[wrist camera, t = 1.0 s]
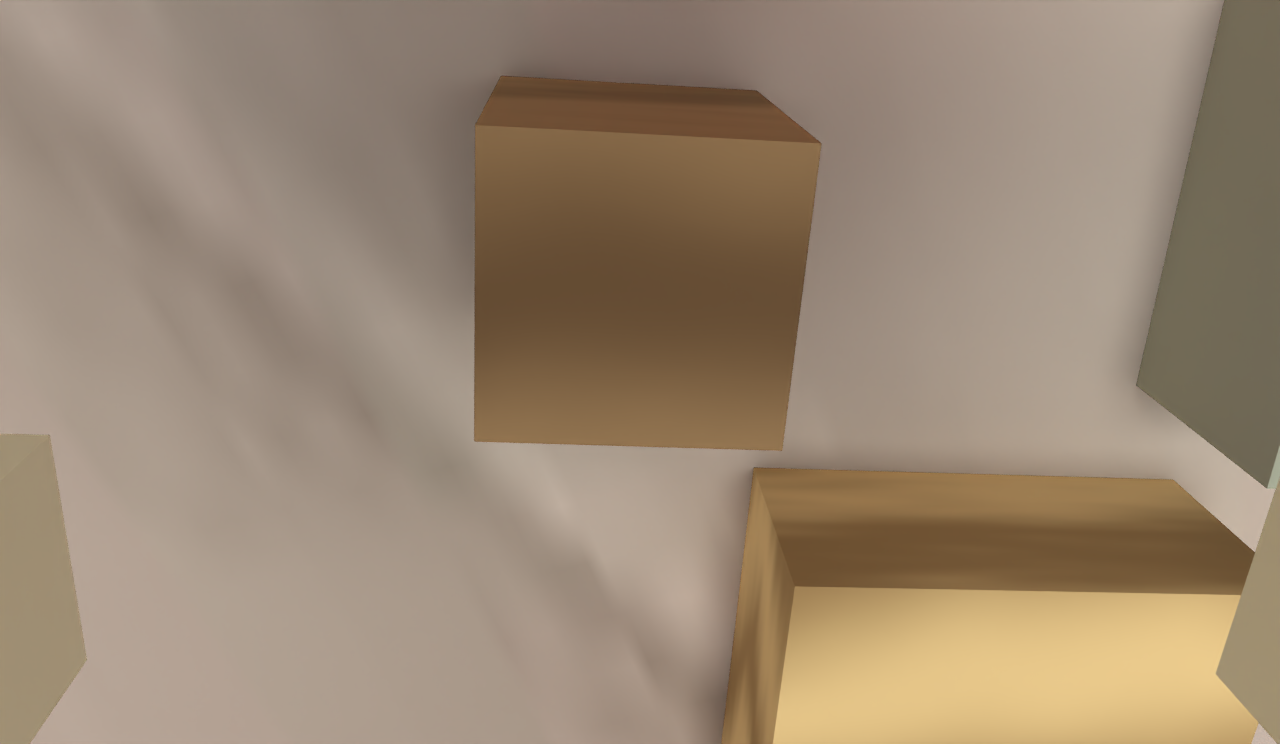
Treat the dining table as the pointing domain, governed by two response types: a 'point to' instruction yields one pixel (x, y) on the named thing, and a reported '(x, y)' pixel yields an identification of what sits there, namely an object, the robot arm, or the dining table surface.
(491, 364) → the walnut block
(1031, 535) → the oak pedestal
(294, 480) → the dining table surface
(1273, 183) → the sage green pedestal
